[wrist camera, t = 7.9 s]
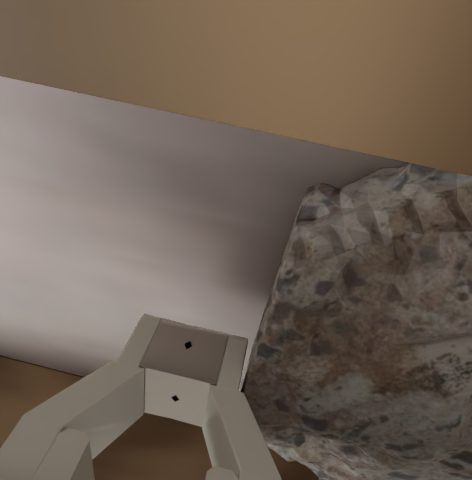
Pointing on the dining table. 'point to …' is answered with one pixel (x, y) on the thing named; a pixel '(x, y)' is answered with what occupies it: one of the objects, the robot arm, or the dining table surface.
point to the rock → (372, 331)
